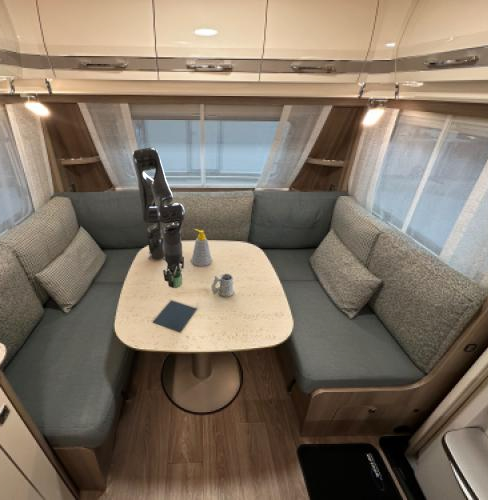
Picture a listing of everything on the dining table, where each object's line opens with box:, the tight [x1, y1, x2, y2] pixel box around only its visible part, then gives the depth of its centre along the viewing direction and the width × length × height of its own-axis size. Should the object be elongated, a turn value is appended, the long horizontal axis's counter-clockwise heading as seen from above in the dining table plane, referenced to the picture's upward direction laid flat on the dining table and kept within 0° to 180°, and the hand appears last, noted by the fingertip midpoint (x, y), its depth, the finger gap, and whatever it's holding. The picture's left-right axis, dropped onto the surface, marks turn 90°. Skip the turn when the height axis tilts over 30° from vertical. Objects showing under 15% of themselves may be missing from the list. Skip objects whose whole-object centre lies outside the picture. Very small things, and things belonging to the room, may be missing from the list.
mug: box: [211, 273, 234, 298], centre depth 135 cm, size 8×12×12 cm, turn 110°
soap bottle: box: [191, 228, 212, 267], centre depth 160 cm, size 12×12×20 cm
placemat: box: [152, 300, 197, 333], centre depth 124 cm, size 16×14×1 cm
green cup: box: [170, 271, 183, 289], centre depth 119 cm, size 6×6×6 cm
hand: (175, 282), depth 119 cm, fingers closed on green cup, 6 cm apart
